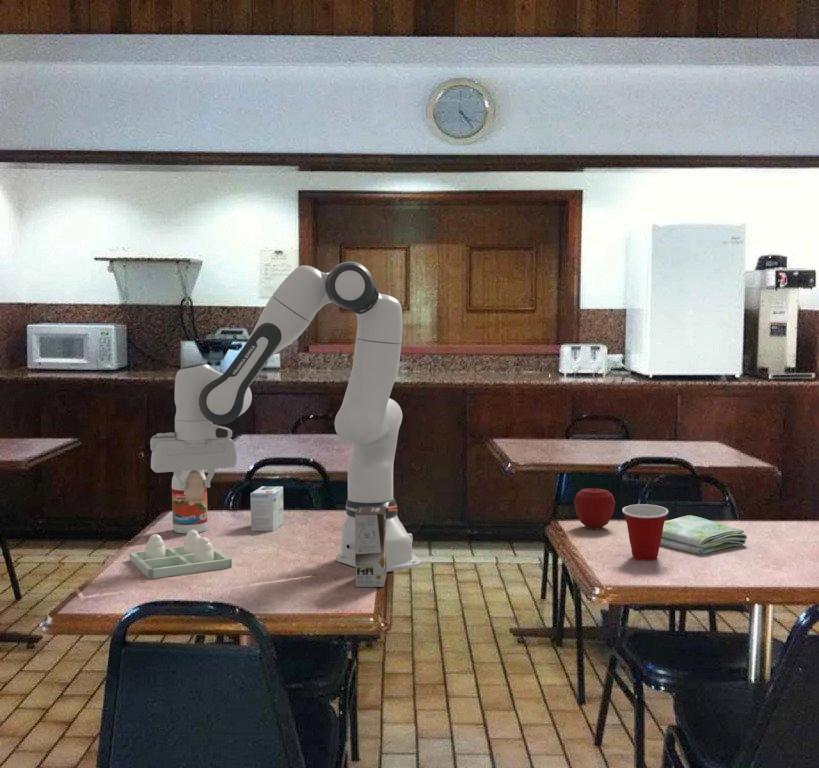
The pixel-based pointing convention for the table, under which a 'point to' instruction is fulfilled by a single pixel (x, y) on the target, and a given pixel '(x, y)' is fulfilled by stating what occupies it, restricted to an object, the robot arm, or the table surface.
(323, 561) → the table surface
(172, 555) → the egg tray
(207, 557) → the cream egg
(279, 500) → the light bulb box
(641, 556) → the plastic cup
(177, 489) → the fruit juice
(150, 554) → the cream egg
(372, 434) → the robot arm
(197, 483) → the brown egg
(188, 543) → the cream egg
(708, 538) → the towel
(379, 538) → the coffee box
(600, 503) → the apple
